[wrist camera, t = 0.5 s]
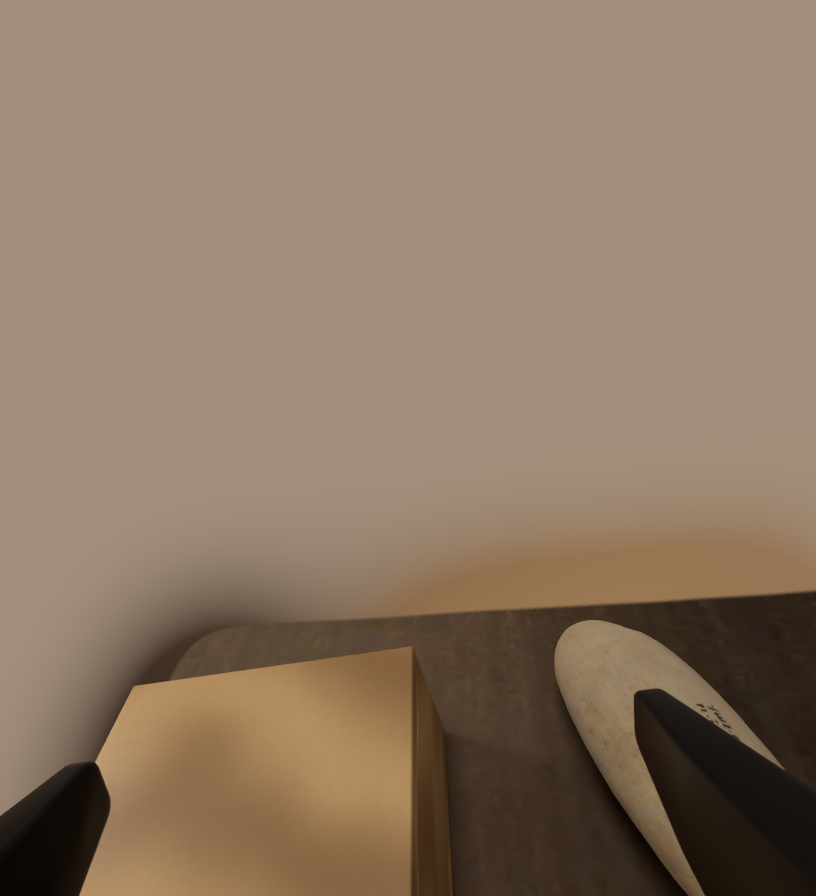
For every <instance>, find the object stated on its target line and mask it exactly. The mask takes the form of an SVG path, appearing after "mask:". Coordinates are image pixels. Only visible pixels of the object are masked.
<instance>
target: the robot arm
mask: <svg viewBox="0 0 816 896" xmlns="http://www.w3.org/2000/svg"><path fill="white" fill-rule="evenodd" d="M634 730H635V737H636V741H637V744H638V747H639V750H640V752H641V755H642V757H643V760H644V762H645V764H646V767H647V769H648V771H649V774H650V776H651V779H652V781H653V783H654V786H655V788H656V790H657V793H658V795H659V798H660V800H661V802H662V805H663V807H664V810H665V812H666V814H667V817H668V819H669V821H670V824H671V826H672V829H673V831H674V833H675V836H676V838H677V840H678V843H679V845H680V847H681V849H682V852H683V854H684V856H685V858H686V860H687V862H688V864H689V866H690V868H691V870H692V872H693V874H694V876H695V878H696V880H697V881H698V883H699V885H700V887H701V889H702V891H703V893H704V895H705V896H816V791H815V790H814V789H812V788H811V787H809V786H808V785H806V784H805V783H803V782H802V781H800V780H799V779H797V778H796V777H794V776H793V775H791V774H790V773H788V772H787V771H785V770H784V769H782V768H781V767H779V766H777V765H776V764H774V763H773V762H771V761H770V760H768V759H767V758H765V757H764V756H762V755H761V754H759V753H758V752H756V751H755V750H753V749H752V748H750V747H749V746H747V745H746V744H744V743H743V742H741V741H740V740H738V739H737V738H735V737H734V736H732V735H731V734H729V733H728V732H726V731H725V730H723V729H722V728H720V727H719V726H717V725H716V724H714V723H713V722H711V721H710V720H708V719H707V718H705V717H704V716H702V715H701V714H699V713H698V712H696V711H695V710H693V709H691V708H690V707H688V706H687V705H685V704H684V703H682V702H681V701H679V700H678V699H676V698H675V697H673V696H672V695H670V694H669V693H667V692H666V691H664V690H662V689H659V688H654V689H646V690H639V691H637V692H636V693H635V694H634ZM110 809H111V798H110V795H109V792H108V790H107V787H106V784H105V782H104V779H103V776H102V774H101V771H100V769H99V766H98V765H97V764H96V763H95V762H91V761H89V762H82V763H74V764H70V765H68V766H65V767H64V768H63V769H61V770H60V771H59V772H57V773H56V774H55V775H54V776H52V777H51V778H50V779H48V780H47V781H46V782H44V783H43V784H42V785H40V786H39V787H38V788H37V789H35V790H34V791H33V792H31V793H30V794H29V795H27V796H26V797H25V798H23V799H22V800H21V801H20V802H18V803H17V804H16V805H14V806H13V807H12V808H10V809H9V810H8V811H7V812H5V813H4V814H2V815H1V816H0V896H79V895H80V893H81V890H82V887H83V885H84V882H85V879H86V876H87V874H88V871H89V868H90V866H91V863H92V860H93V858H94V855H95V852H96V849H97V847H98V844H99V841H100V839H101V836H102V833H103V831H104V828H105V825H106V822H107V820H108V817H109V813H110Z"/></svg>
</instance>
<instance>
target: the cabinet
mask: <svg viewBox="0 0 816 896" xmlns="http://www.w3.org/2000/svg"><path fill="white" fill-rule="evenodd" d="M95 763H96V764H97V765H98V766H99V769H100V771H101V774H102V776H103V779H104V782H105V784H106V787H107V790H108V792H109V795H110V798H111V809H110V813H109V817H108V820H107V822H106V825H105V828H104V831H103V833H102V836H101V839H100V841H99V844H98V847H97V849H96V852H95V855H94V858H93V860H92V863H91V866H90V868H89V871H88V874H87V876H86V879H85V882H84V885H83V887H82V890H81V893H80V895H79V896H453V884H452V864H451V844H450V824H449V804H448V784H447V765H446V745H445V731H444V728H443V726H442V723H441V720H440V717H439V715H438V712H437V709H436V707H435V704H434V702H433V699H432V696H431V694H430V691H429V688H428V686H427V683H426V681H425V678H424V675H423V673H422V670H421V667H420V665H419V662H418V660H417V657H416V655H415V652H414V650H413V647H404V648H397V649H390V650H383V651H376V652H369V653H362V654H355V655H348V656H341V657H334V658H327V659H320V660H313V661H306V662H299V663H292V664H285V665H278V666H271V667H264V668H257V669H250V670H243V671H236V672H229V673H222V674H216V675H209V676H202V677H195V678H188V679H181V680H174V681H167V682H161V683H154V684H146V685H139V686H134V687H133V689H132V691H131V693H130V695H129V697H128V699H127V701H126V703H125V705H124V706H123V709H122V711H121V712H120V714H119V716H118V718H117V720H116V722H115V724H114V726H113V728H112V730H111V732H110V734H109V736H108V738H107V740H106V742H105V744H104V746H103V748H102V750H101V752H100V754H99V756H98V758H97V760H96V762H95Z"/></svg>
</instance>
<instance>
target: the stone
mask: <svg viewBox="0 0 816 896" xmlns="http://www.w3.org/2000/svg"><path fill="white" fill-rule="evenodd" d="M554 669H555V675H556V679H557V683H558V686H559V688H560V691H561V694H562V696H563V699H564V702H565V704H566V707H567V709H568V711H569V714H570V716H571V718H572V720H573V722H574V724H575V726H576V728H577V730H578V732H579V734H580V736H581V738H582V740H583V742H584V744H585V746H586V748H587V750H588V751H589V753H590V755H591V757H592V758H593V760H594V762H595V763H596V765H597V767H598V769H599V770H600V772H601V774H602V775H603V777H604V779H605V781H606V782H607V784H608V786H609V787H610V789H611V791H612V792H613V794H614V795H615V797H616V798H617V800H618V801H619V802H620V804H621V805H622V807H623V808H624V810H625V811H626V812H627V814H628V815H629V817H630V818H631V820H632V821H633V822H634V824H635V825H636V827H637V828H638V830H639V831H640V832H641V834H642V835H643V837H644V838H645V839H646V841H647V842H648V844H649V845H650V846H651V848H652V849H653V851H654V852H655V853H656V855H657V856H658V858H659V859H660V861H661V862H662V863H663V865H664V866H665V867H666V869H667V870H668V871H669V872H670V874H671V875H672V876H673V878H674V879H675V880H676V881H677V883H678V884H679V885H680V886H681V887H682V889H683V890H684V891H685V892H686V893H687V894H688V895H689V896H705V895H704V893H703V891H702V889H701V887H700V885H699V883H698V881H697V880H696V878H695V876H694V874H693V872H692V870H691V868H690V866H689V864H688V862H687V860H686V858H685V856H684V854H683V852H682V849H681V847H680V845H679V843H678V840H677V838H676V836H675V833H674V831H673V829H672V826H671V824H670V821H669V819H668V817H667V814H666V812H665V810H664V807H663V805H662V802H661V800H660V798H659V795H658V793H657V790H656V788H655V786H654V783H653V781H652V779H651V776H650V774H649V771H648V769H647V767H646V764H645V762H644V760H643V757H642V755H641V752H640V750H639V747H638V744H637V741H636V737H635V730H634V694H635V693H636V692H637V691H639V690H646V689H654V688H659V689H662V690H664V691H666V692H667V693H669V694H670V695H672V696H673V697H675V698H676V699H678V700H679V701H681V702H682V703H684V704H685V705H687V706H688V707H690V708H691V709H693V710H695V711H696V712H698V713H699V714H701V715H702V716H704V717H705V718H707V719H708V720H710V721H711V722H713V723H714V724H716V725H717V726H719V727H720V728H722V729H723V730H725V731H726V732H728V733H729V734H731V735H732V736H734V737H735V738H737V739H738V740H740V741H741V742H743V743H744V744H746V745H747V746H749V747H750V748H752V749H753V750H755V751H756V752H758V753H759V754H761V755H762V756H764V757H765V758H767V759H768V760H770V761H771V762H773V763H774V764H776V765H777V766H779V767H781V768H782V769H784V768H783V767H782V766H781V764H780V763H779V762H778V761H777V760H776V758H775V757H774V756H773V755H772V754H771V753H770V751H769V750H768V749H767V748H766V747H765V745H764V744H763V743H762V742H761V741H760V740H759V739H758V737H757V736H756V735H755V734H754V733H753V732H752V731H751V730H750V729H749V727H748V726H747V725H746V724H745V723H744V721H743V720H742V719H741V718H740V717H739V716H738V714H737V713H736V712H735V711H734V710H733V709H732V708H731V707H730V706H729V705H728V704H727V702H726V701H725V700H724V699H723V698H722V697H721V696H720V695H719V694H718V693H717V692H716V691H715V690H714V689H713V688H712V687H711V686H710V685H709V684H708V683H707V682H706V681H705V680H704V679H703V678H702V677H701V676H700V675H699V674H697V673H696V672H695V671H694V670H693V669H692V668H691V667H690V666H689V665H687V664H686V663H685V662H684V661H683V660H682V659H680V658H679V657H678V656H677V655H676V654H674V653H673V652H672V651H670V650H669V649H668V648H666V647H665V646H664V645H662V644H661V643H659V642H658V641H656V640H654V639H652V638H651V637H649V636H647V635H645V634H643V633H641V632H638V631H635V630H631V629H628V628H625V627H623V626H620V625H616V624H613V623H609V622H605V621H599V620H587V621H583V622H579V623H576V624H574V625H572V626H571V627H569V628H568V629H567V630H566V631H565V632H564V633H563V634H562V636H561V638H560V639H559V641H558V643H557V646H556V651H555V657H554ZM784 770H785V769H784Z"/></svg>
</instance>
